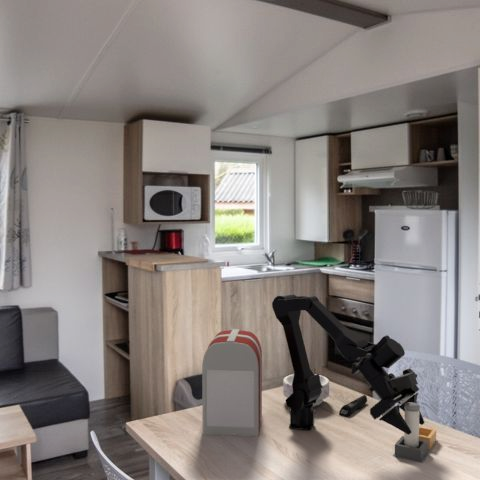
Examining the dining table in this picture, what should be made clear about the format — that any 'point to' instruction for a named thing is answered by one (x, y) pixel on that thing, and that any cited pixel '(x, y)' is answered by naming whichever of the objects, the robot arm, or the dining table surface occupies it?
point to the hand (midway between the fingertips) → (416, 428)
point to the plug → (412, 424)
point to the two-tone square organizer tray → (425, 446)
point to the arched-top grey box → (232, 384)
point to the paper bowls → (289, 390)
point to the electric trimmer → (353, 406)
